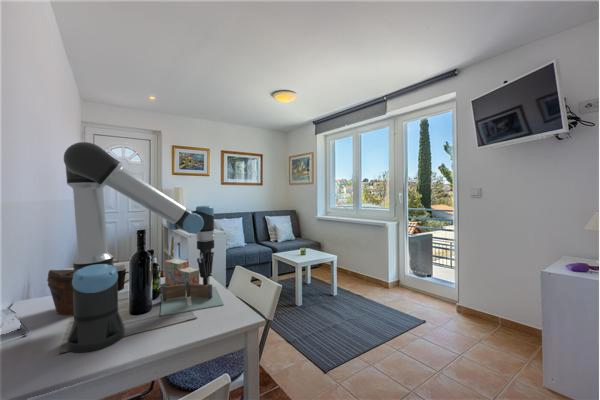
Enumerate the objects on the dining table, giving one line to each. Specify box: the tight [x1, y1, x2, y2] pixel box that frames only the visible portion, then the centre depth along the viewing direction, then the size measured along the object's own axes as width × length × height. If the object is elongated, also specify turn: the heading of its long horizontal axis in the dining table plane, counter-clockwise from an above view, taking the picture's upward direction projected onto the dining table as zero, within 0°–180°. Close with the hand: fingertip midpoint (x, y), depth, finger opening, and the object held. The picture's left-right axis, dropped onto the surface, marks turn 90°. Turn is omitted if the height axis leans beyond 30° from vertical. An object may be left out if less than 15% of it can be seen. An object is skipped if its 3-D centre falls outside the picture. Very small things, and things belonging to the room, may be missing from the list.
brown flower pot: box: [46, 269, 74, 316], centre depth 114 cm, size 18×20×18 cm
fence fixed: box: [161, 281, 190, 301], centre depth 123 cm, size 2×11×7 cm, turn 115°
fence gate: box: [190, 283, 213, 299], centre depth 124 cm, size 1×11×6 cm, turn 75°
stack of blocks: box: [164, 258, 200, 291], centre depth 142 cm, size 21×6×12 cm, turn 56°
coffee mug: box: [114, 266, 130, 291], centre depth 136 cm, size 12×9×10 cm
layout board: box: [159, 286, 224, 317], centre depth 122 cm, size 24×24×1 cm
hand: (206, 290), depth 126 cm, fingers closed
